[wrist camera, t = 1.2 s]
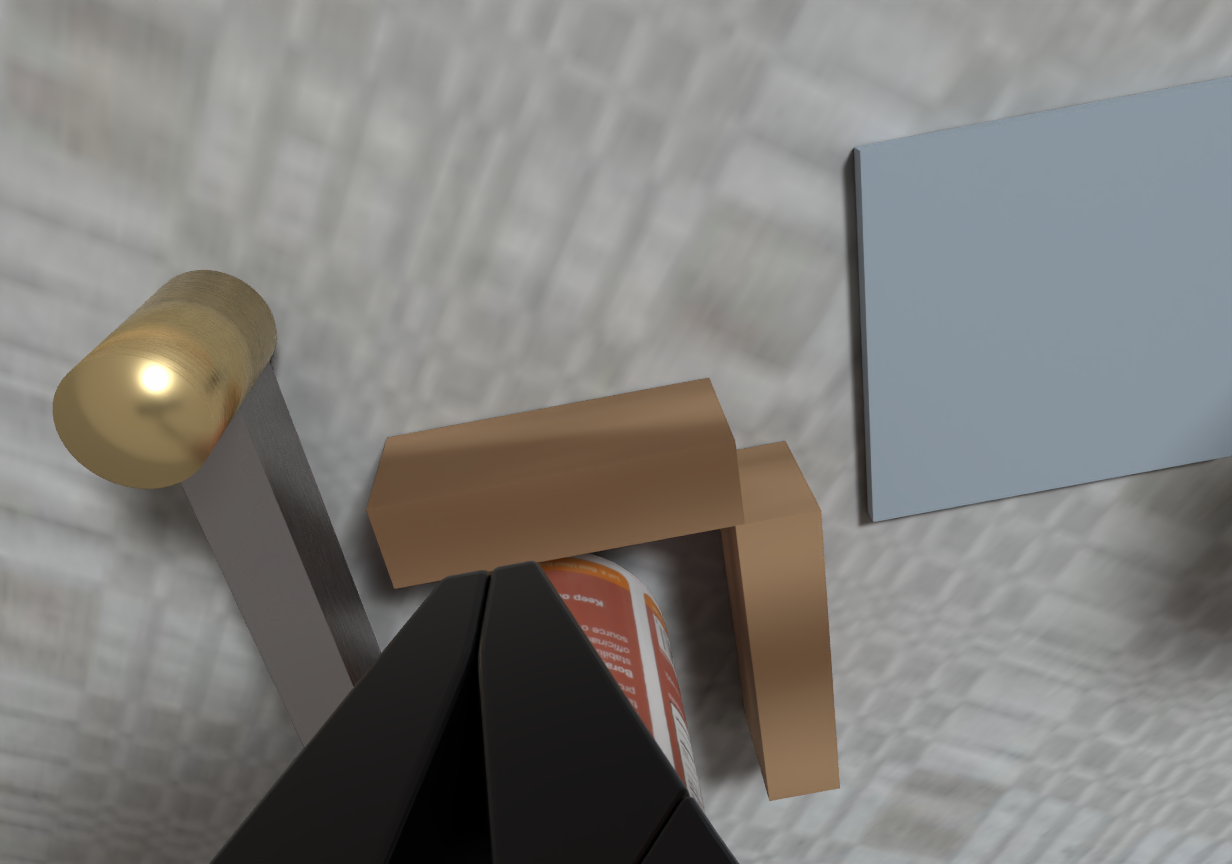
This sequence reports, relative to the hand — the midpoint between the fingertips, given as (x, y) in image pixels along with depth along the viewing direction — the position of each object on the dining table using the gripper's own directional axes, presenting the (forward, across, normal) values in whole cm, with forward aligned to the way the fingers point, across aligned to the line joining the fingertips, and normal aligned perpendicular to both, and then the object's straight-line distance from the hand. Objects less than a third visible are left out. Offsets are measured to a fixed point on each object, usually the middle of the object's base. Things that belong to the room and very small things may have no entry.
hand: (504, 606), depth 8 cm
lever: (+11, +6, +7) cm, 15 cm away
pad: (+12, -12, +4) cm, 17 cm away
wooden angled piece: (+12, +2, +10) cm, 16 cm away
